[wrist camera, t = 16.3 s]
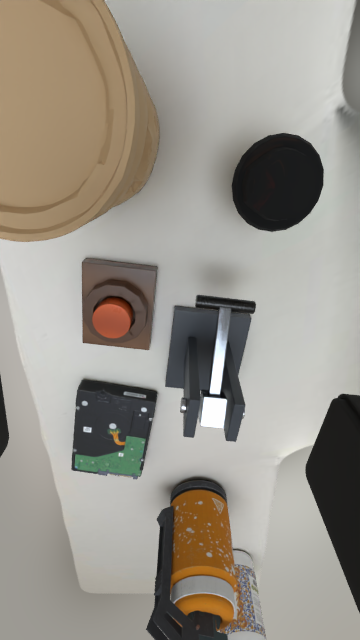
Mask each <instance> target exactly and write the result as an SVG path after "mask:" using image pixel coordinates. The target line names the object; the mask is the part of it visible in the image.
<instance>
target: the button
mask: <svg viewBox="0 0 360 640" xmlns="http://www.w3.org/2000/svg"><path fill="white" fill-rule="evenodd" d="M132 320H133V311H132V309H131V307H130V305H129V304H128V303H127V302H126V301H124V300H123V299H120V298H116V297H110V298H107V299H104V300H103V301H102V302H100V304H99V305H98V307H97V308H96V310H95V312H94V314H93V317H92V322H93V325H94V327H95V329H96V330H97V332H98V333H100V334H101V335H103V336H105V337H107V338H119V337H121V336H123V335H125V334H126V333H127V332H128V330H129V328H130V326H131V323H132Z"/></svg>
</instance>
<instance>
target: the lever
mask: <svg viewBox="0 0 360 640" xmlns="http://www.w3.org/2000/svg"><path fill="white" fill-rule="evenodd" d="M195 307H196V308H205V309H213V310H218V314H217V322H216V330H215V338H214V346H213V354H212V362H211V370H210V378H209V386H208V390H203V389H202V390H201V402H200V408H199V413H198V418H199V422H200V426H205V427H215V428H224V422H225V414H226V407H227V398H226V396H225V394H224V392H222V391H221V387H222V379H223V371H224V363H225V355H226V347H227V339H228V332H229V324H230V316H231V312H239V313H248V314H254V312H255V308H256V304H255V302H254V301H247V300H238V299H230V298H221V297H213V296H204V295H197V296H196V303H195Z"/></svg>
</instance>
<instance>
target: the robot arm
mask: <svg viewBox="0 0 360 640" xmlns="http://www.w3.org/2000/svg"><path fill="white" fill-rule="evenodd" d="M8 440H9V432H8V425H7V419H6V411H5V405H4V397H3V391H2V384H1V376H0V457H1V455H2V454H3V452H4V450H5V449H6V447H7V444H8ZM306 477H307V480H308V483H309V485H310V488H311V490H312V493H313V495H314V498H315V501H316V503H317V506H318V508H319V511H320V513H321V516H322V518H323V521H324V524H325V526H326V528H327V531H328V534H329V536H330V539H331V541H332V544H333V547H334V549H335V551H336V554H337V557H338V559H339V561H340V564H341V567H342V569H343V572H344V575H345V577H346V580H347V582H348V585H349V587H350V590H351V593H352V595H353V597H354V600H355V602H356V605H357V608H358V610H359V612H360V396H359V395H349V394H341V395H339V396H338V398H335V399H333V400H332V402H331V404H330V407H329V409H328V412H327V414H326V417H325V419H324V422H323V424H322V426H321V429H320V431H319V434H318V436H317V439H316V441H315V444H314V446H313V449H312V451H311V454H310V456H309V459H308V461H307V464H306Z"/></svg>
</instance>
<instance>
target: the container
mask: <svg viewBox="0 0 360 640" xmlns="http://www.w3.org/2000/svg"><path fill="white" fill-rule="evenodd" d="M158 145H159V122H158V117H157V112H156V109H155V106H154V104H153V101H152V99H151V97H150V95H149V93H148V90H147V87H146V85H145V83H144V81H143V79H142V77H141V75H140V73H139V71H138V69H137V67H136V64H135V62H134V60H133V58H132V55H131V53H130V51H129V49H128V47H127V45H126V43H125V42H124V39H123V37H122V35H121V32H120V30H119V28H118V25H117V23H116V21H115V19H114V18H113V16H112V14H111V12H110V10H109V8H108V6H107V5H106V3H105V1H104V0H0V238H1V239H5V240H11V241H20V242H30V241H41V240H48V239H52V238H56V237H60V236H63V235H66V234H68V233H70V232H72V231H74V230H76V229H78V228H80V227H81V226H83V225H85V224H87V223H88V222H90V221H92V220H94V219H96V218H97V217H99V216H101V215H102V214H104V213H106V212H107V211H108V210H109V209H111V208H112V207H115V206H117V205H119V204H121V203H123V202H125V201H127V200H128V199H130V198H131V197H132V196H134V195H135V194H136V193H138V192H139V191H140V190H141V189H142V188H143V186H144V185H145V183H146V181H147V180H148V178H149V177H150V174H151V172H152V169H153V166H154V163H155V159H156V155H157V150H158Z"/></svg>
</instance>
